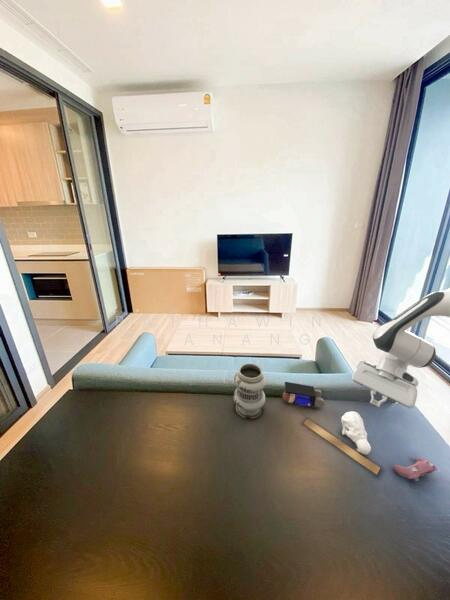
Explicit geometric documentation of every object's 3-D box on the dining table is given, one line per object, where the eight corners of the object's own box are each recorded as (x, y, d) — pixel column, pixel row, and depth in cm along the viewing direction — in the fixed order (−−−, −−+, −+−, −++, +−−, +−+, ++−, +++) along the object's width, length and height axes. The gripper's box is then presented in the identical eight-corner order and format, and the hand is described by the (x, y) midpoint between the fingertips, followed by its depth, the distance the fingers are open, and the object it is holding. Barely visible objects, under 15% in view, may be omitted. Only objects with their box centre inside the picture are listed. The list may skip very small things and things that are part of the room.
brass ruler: (380, 468, 73) (380, 467, 73) (376, 475, 71) (376, 474, 71) (307, 419, 90) (307, 419, 89) (303, 424, 88) (303, 423, 88)
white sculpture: (359, 407, 83) (382, 441, 73) (353, 424, 87) (374, 458, 76) (342, 408, 83) (362, 442, 72) (336, 425, 87) (355, 460, 76)
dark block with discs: (318, 402, 100) (281, 393, 101) (323, 387, 97) (285, 379, 99) (321, 414, 93) (281, 406, 95) (326, 399, 91) (286, 390, 92)
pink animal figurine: (401, 484, 70) (418, 481, 65) (390, 466, 73) (405, 461, 68) (427, 475, 72) (445, 471, 67) (415, 457, 75) (432, 452, 70)
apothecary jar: (233, 420, 89) (233, 380, 82) (233, 396, 100) (234, 359, 94) (266, 421, 89) (269, 381, 82) (262, 397, 100) (265, 360, 93)
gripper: (359, 356, 96) (343, 388, 93) (423, 382, 81) (407, 420, 79) (361, 361, 100) (346, 391, 97) (422, 387, 86) (407, 423, 83)
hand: (374, 405), depth 88 cm, fingers closed
